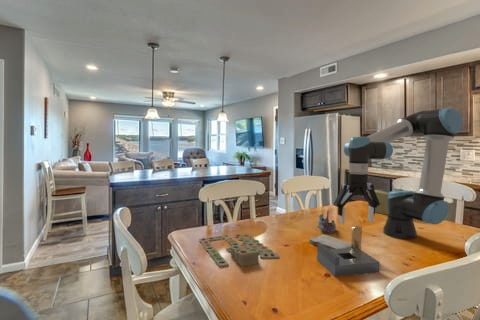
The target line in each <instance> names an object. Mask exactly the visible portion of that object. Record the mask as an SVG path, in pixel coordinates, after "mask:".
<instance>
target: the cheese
mask: <svg viewBox="0 0 480 320" xmlns="http://www.w3.org/2000/svg"><path fill="white" fill-rule="evenodd" d="M374 191H375V193H376V195H377V198H378V200H379V203H380V205H379V206H377V208H375V214H376V213H377V214H381V215H386V216H388V195H389V192H386V191H383V190H379V189H374ZM367 193H368V195H369V196H370V193H369V191H368V192H367ZM370 198H371V196H370ZM371 199H372V198H371ZM368 206H370V205H369V203H368V202H367V207H368Z"/></svg>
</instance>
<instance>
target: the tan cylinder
mask: <svg viewBox="0 0 480 320" xmlns="http://www.w3.org/2000/svg"><path fill="white" fill-rule="evenodd" d="M362 229H363V228H362V226H358V225H352V226H351V237H350V238H351V240H350V244H351V248H355V247H357V248H359V249H360V250H362V234H363V233H362V232H363V230H362Z"/></svg>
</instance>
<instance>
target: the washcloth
mask: <svg viewBox="0 0 480 320" xmlns="http://www.w3.org/2000/svg"><path fill="white" fill-rule="evenodd" d="M308 242H309V244H311V245H314V246H315V247H317V243H322V244H323V245H324V246H325V247H327V248H328V249H342V248H351V242H347V241H344V240H342V239H338V238H336V237H333V236H330V235H327V234H320V235H319V236H314V237H311V238H309V241H308Z"/></svg>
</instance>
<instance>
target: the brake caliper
mask: <svg viewBox="0 0 480 320" xmlns="http://www.w3.org/2000/svg"><path fill="white" fill-rule="evenodd" d="M329 213H330V212H329V210H327V211H326V216H324V214H323V213H322V214H319V216H318V221H317V224H318V225H317V228H319V229H320V231H321V232H322V233H335V232H336V229H337V228H336V227H337V226H336V222H335V220H334V219H332V220H331V222H329V221H330V219H329Z"/></svg>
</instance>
